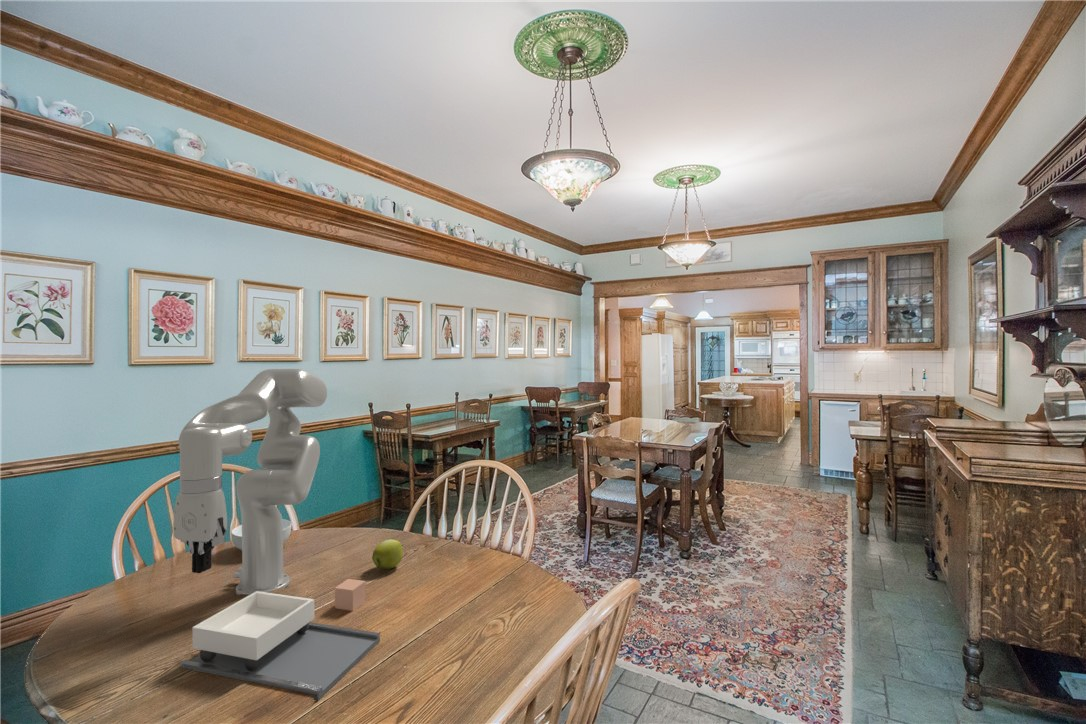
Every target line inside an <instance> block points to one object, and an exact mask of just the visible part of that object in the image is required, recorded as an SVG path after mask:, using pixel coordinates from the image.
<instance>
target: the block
mask: <svg viewBox="0 0 1086 724" xmlns="http://www.w3.org/2000/svg"><path fill="white" fill-rule="evenodd" d="M366 586H367V585H366V580H360V579H351V578H348V579H345V580H344V581H342V583H340V584H338V585H337V586H336V587H334V608H335V609H338V610H345V611H350V612H354V611H355V610H356V609H358V608H359V607H360V606H361V605H363V604H364V603H365V602H366V601H367V599H366V598H367V597H366V596H367V594H366V593H367V592H366V588H367V587H366Z"/></svg>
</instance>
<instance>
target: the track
mask: <svg viewBox="0 0 1086 724" xmlns="http://www.w3.org/2000/svg"><path fill="white" fill-rule="evenodd" d="M380 637H381V634H380V632H377V631H376V632H374V631H369V630H365V629H364V630H363V629H356V628H349V627H344V626H337V625H331V624H327V623H326V624H325V623H324V624H323V623H318V622H314V621H313V622H312V621H310V622H309V628H308V630H307V631H305V632H304V633H303V634H298V633H297V632H295V633H294V634H292V635H291V636H290V637H288V638H287V639H285V640H284V641H283V642H281V643H280V644H279V645H277V646H276V647H274V648H273V649H272V650H270V651H269V652H268V653H266V654H265V655H263V656H262V657H261V664H260V666H258V667H257V668H256V669H254V670H253V671H249V670H248V669H247V668H246V667H245V664H244V661H245V658H242V657H236V656H231V655H226V654H221V653H216V656H215V657H214V658H213V659H211V660H210V661H208V662H204V661H203V660H202V659H201V657H200V654H198V655H196V656H195V657H194V658H192V659H190V660H189V659H188V660H187V659H185V660H182V661H180V662H179V668H181V669H187V670H193V671H197V672H201V673H206V674H212V675H216V676H221V677H226V678H232V679H236V680H242V681H246V682H251V683H256V684H261V685H266V686H271V687H275V688H281V689H286V690H290V691H296V692H301V693H306V694H309V695H315V697H313V701H320V700H321V699H322V698H323V697H324V696H325V695H326V694H327V693H328V692H329V691H330V690H331V689H333V687H335V685H336V684H337V683H339V681H340V680H342V679H343V678H344V676H345V675H347V674H348V673H349V672H350V671H351V670H352V669H353V668H354V667H355V666H356V665H357V664H358V663H359V662H360V661H361V660H362V659H363V658H364V657H366V655H367V654H369V653H370V651H371V650H372V649H374V648H375V647H376V646H377V645H378V644H379V643H380V641H381V638H380Z"/></svg>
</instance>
